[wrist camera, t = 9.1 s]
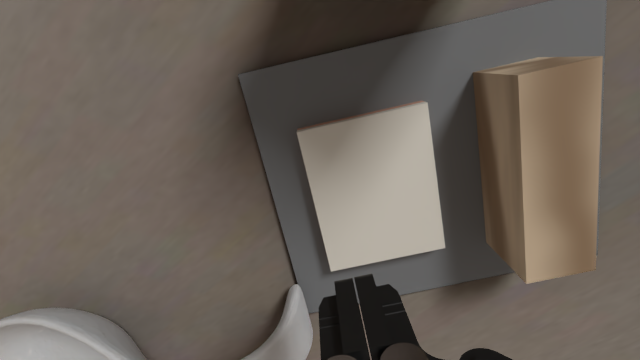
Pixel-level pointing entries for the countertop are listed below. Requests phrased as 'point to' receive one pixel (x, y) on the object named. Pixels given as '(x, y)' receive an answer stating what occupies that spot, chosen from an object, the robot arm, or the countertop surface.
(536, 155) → the block
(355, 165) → the tile
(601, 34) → the mat
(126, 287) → the countertop surface
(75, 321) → the spoon rest
